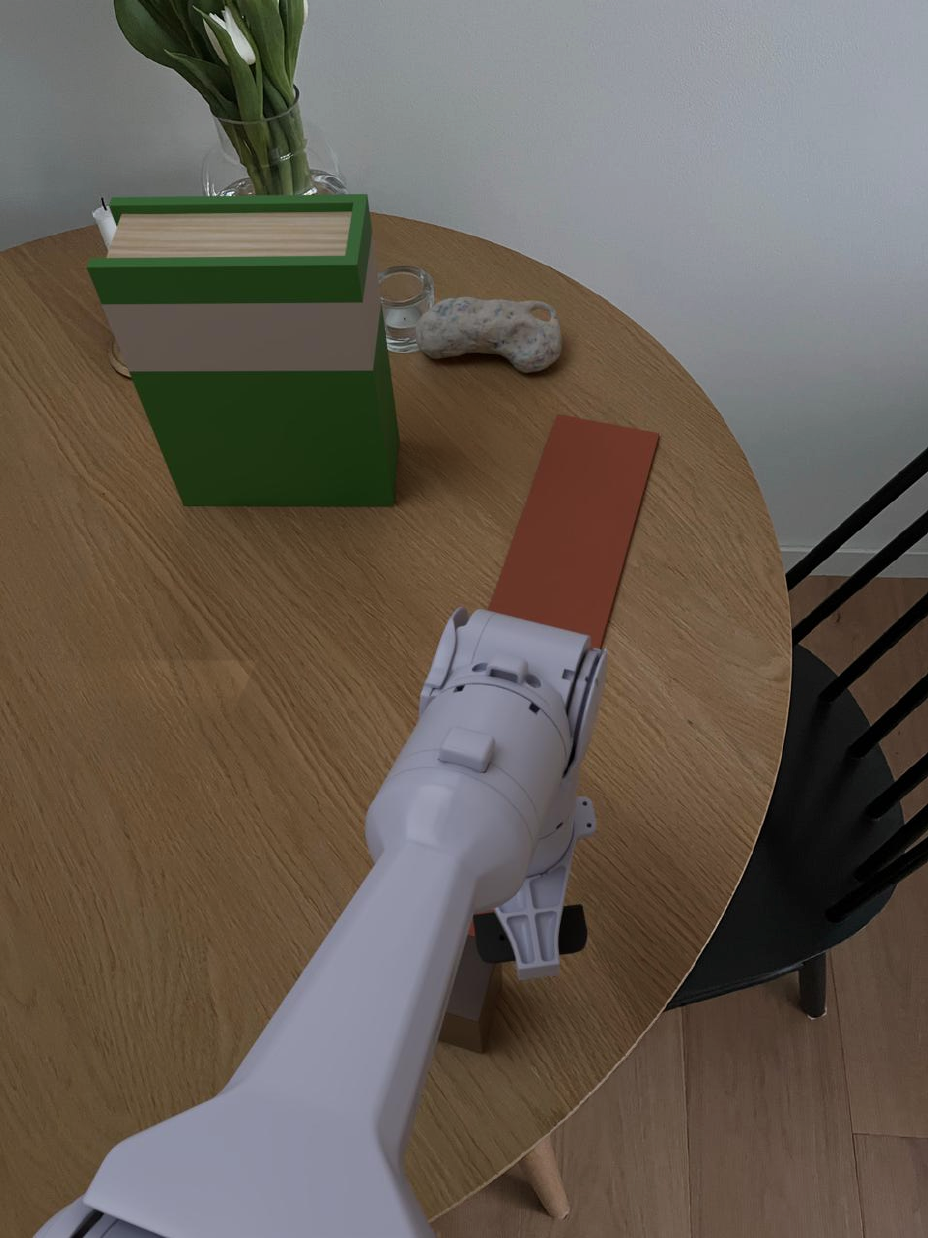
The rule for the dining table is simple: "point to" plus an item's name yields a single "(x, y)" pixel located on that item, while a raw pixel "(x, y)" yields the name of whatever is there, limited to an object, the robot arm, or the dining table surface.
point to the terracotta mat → (576, 528)
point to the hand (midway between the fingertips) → (516, 886)
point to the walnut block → (471, 1000)
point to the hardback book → (256, 345)
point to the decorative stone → (491, 331)
